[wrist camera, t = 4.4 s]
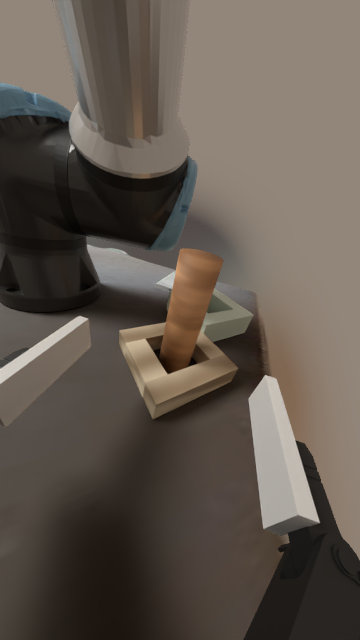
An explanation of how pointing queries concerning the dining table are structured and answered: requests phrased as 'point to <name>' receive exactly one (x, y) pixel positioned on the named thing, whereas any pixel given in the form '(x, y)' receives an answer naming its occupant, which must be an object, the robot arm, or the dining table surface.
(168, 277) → the hard drive
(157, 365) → the holder
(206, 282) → the peg
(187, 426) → the dining table surface
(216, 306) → the socket block
